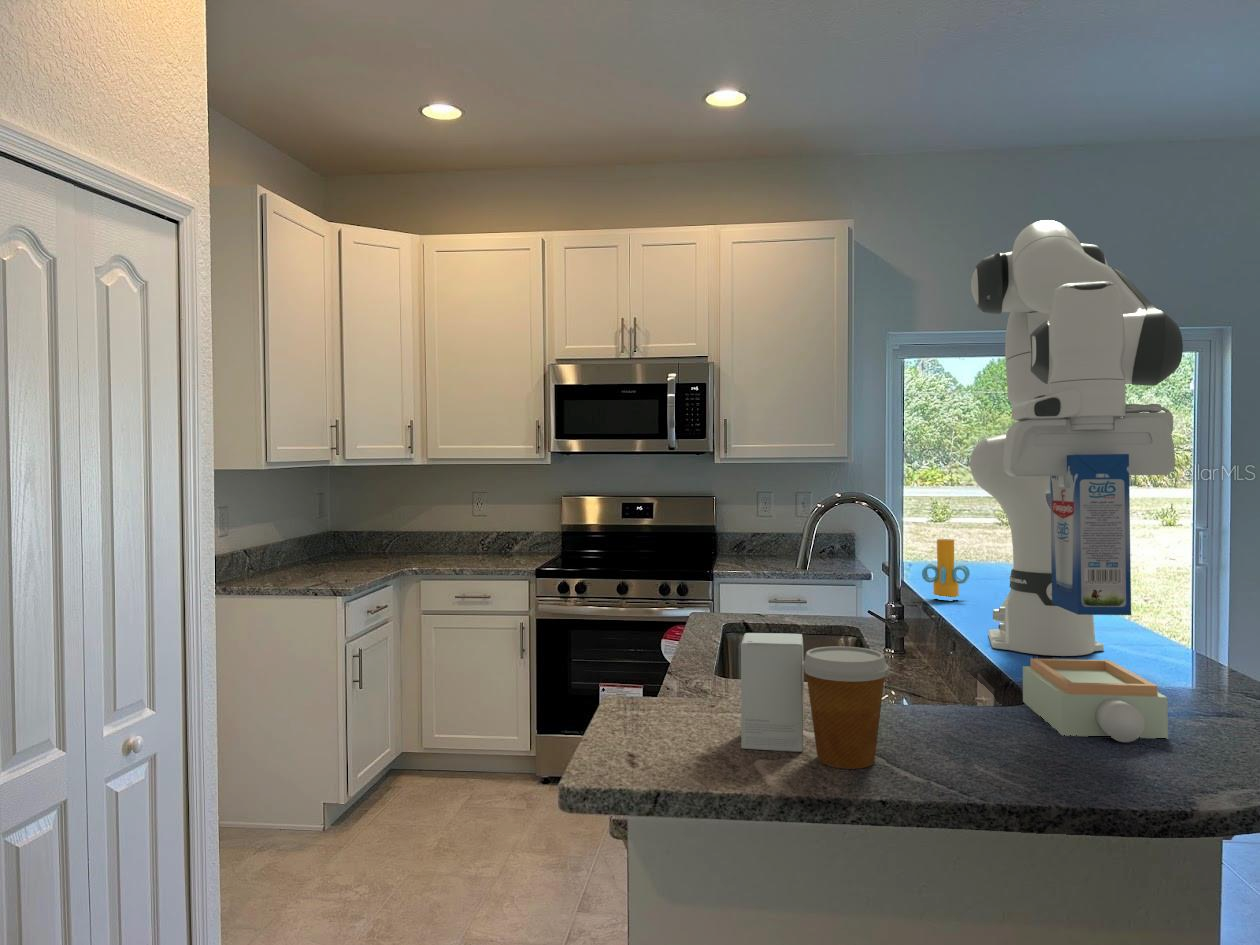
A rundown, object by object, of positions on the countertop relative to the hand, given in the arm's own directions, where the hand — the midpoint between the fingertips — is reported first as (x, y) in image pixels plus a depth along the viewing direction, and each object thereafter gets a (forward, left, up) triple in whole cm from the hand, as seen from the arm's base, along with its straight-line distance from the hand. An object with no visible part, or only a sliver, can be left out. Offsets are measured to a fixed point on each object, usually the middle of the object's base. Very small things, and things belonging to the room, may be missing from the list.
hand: (1087, 511), depth 116 cm
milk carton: (0, 0, -13) cm, 13 cm away
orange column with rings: (-107, +4, -27) cm, 110 cm away
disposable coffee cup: (+20, -33, -27) cm, 47 cm away
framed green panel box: (+2, 0, -27) cm, 27 cm away
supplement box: (+14, -41, -27) cm, 51 cm away
